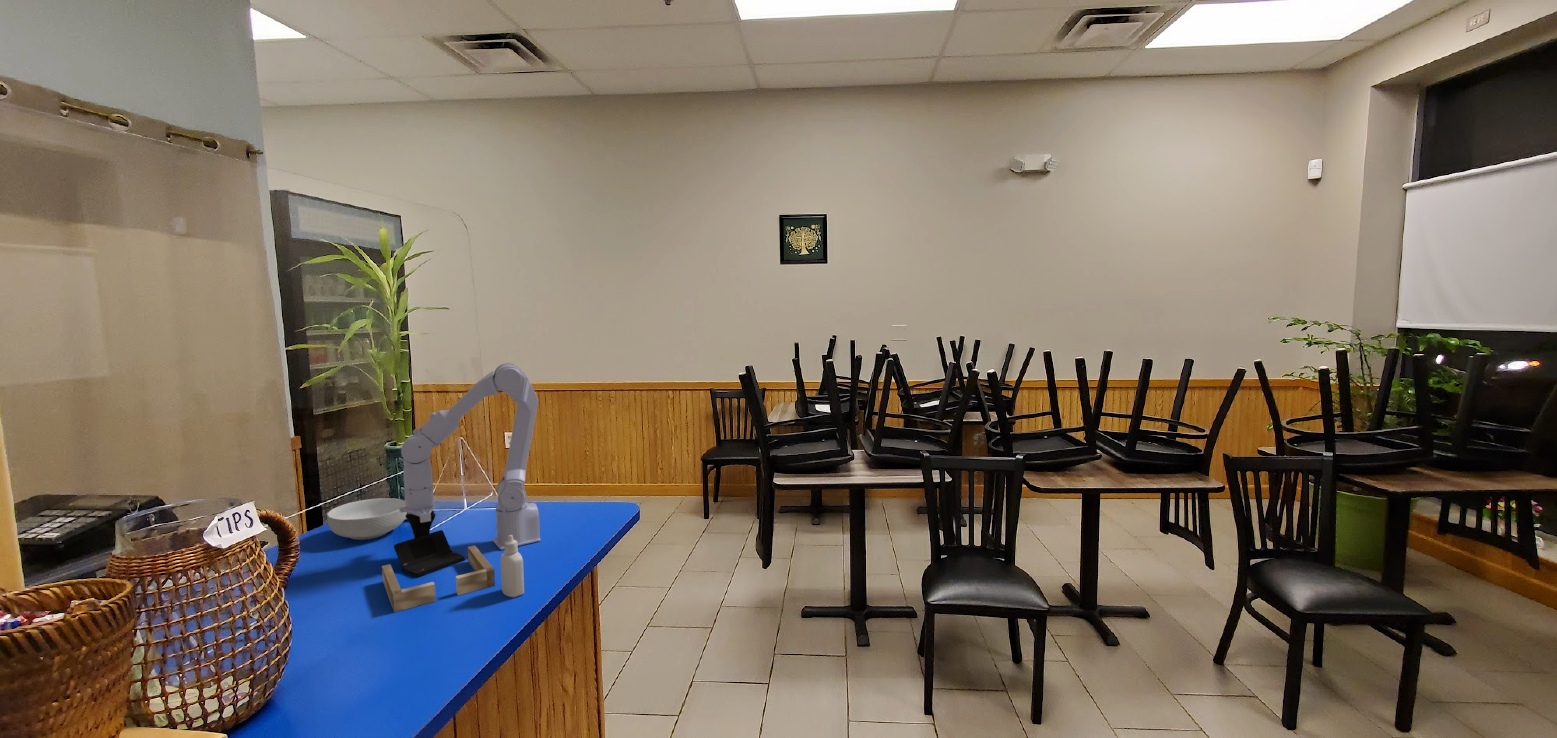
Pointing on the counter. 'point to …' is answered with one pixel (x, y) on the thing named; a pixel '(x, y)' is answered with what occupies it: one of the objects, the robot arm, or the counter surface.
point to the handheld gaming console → (426, 554)
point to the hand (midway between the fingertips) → (421, 543)
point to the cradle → (426, 592)
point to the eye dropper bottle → (512, 569)
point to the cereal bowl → (366, 518)
